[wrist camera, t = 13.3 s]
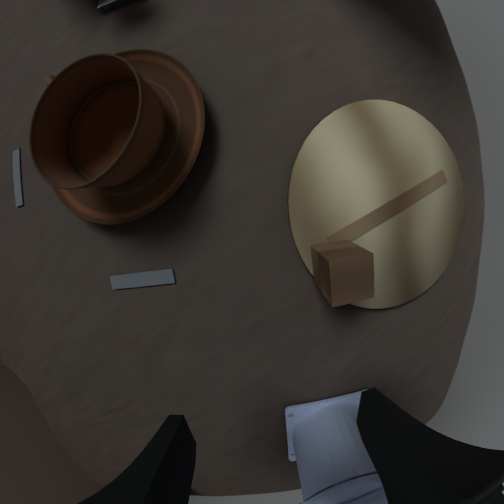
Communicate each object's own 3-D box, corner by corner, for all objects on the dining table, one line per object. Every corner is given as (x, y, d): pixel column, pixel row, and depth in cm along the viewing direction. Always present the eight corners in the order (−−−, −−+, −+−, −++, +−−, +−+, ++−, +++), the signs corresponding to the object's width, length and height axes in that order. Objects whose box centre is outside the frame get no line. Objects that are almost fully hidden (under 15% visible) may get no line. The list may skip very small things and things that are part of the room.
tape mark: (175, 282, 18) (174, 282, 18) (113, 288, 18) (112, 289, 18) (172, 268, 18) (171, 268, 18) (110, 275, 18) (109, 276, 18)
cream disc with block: (341, 339, 19) (362, 374, 15) (244, 154, 16) (244, 142, 12) (474, 246, 18) (509, 258, 14) (414, 81, 15) (448, 63, 10)
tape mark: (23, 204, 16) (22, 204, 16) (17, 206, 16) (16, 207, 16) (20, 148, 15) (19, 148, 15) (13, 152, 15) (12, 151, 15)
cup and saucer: (42, 187, 16) (-11, 192, 10) (102, 49, 14) (64, 16, 8) (164, 248, 18) (129, 277, 12) (240, 86, 16) (238, 42, 10)
